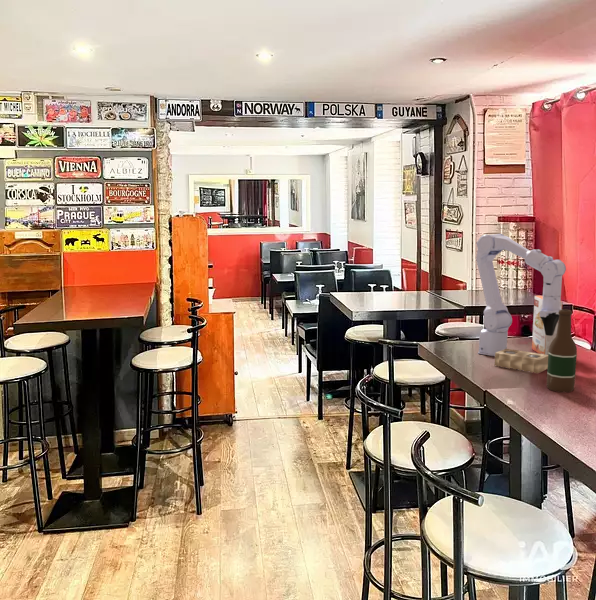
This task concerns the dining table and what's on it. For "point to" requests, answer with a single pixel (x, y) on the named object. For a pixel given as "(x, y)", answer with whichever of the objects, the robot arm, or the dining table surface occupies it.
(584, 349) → the dining table surface
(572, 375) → the beer bottle
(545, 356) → the socket block
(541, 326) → the cracker box
